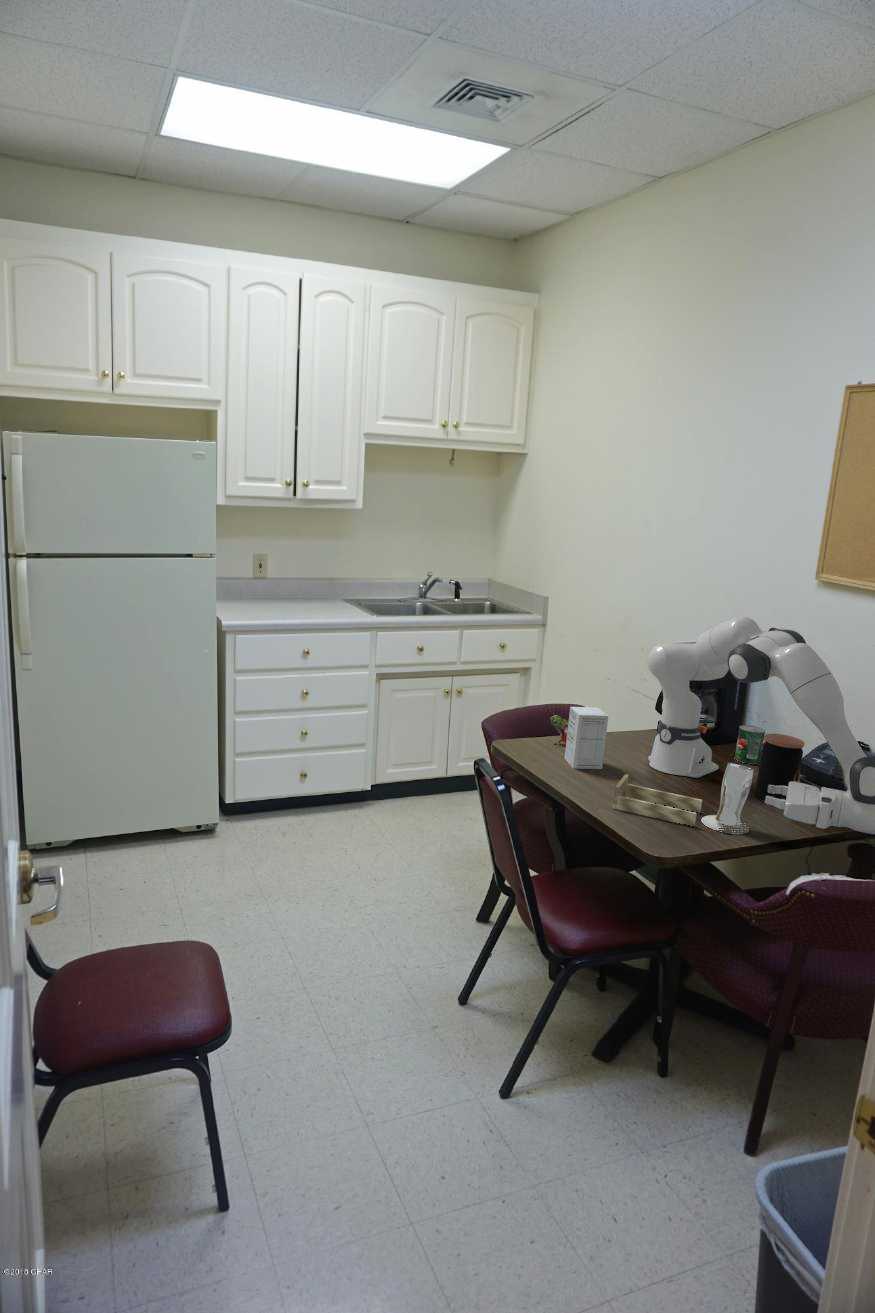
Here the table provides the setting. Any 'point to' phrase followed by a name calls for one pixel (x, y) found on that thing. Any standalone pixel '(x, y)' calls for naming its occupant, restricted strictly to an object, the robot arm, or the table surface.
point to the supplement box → (586, 738)
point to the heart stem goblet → (734, 793)
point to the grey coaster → (717, 823)
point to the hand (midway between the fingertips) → (766, 793)
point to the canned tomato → (749, 744)
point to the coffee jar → (778, 763)
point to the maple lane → (661, 798)
